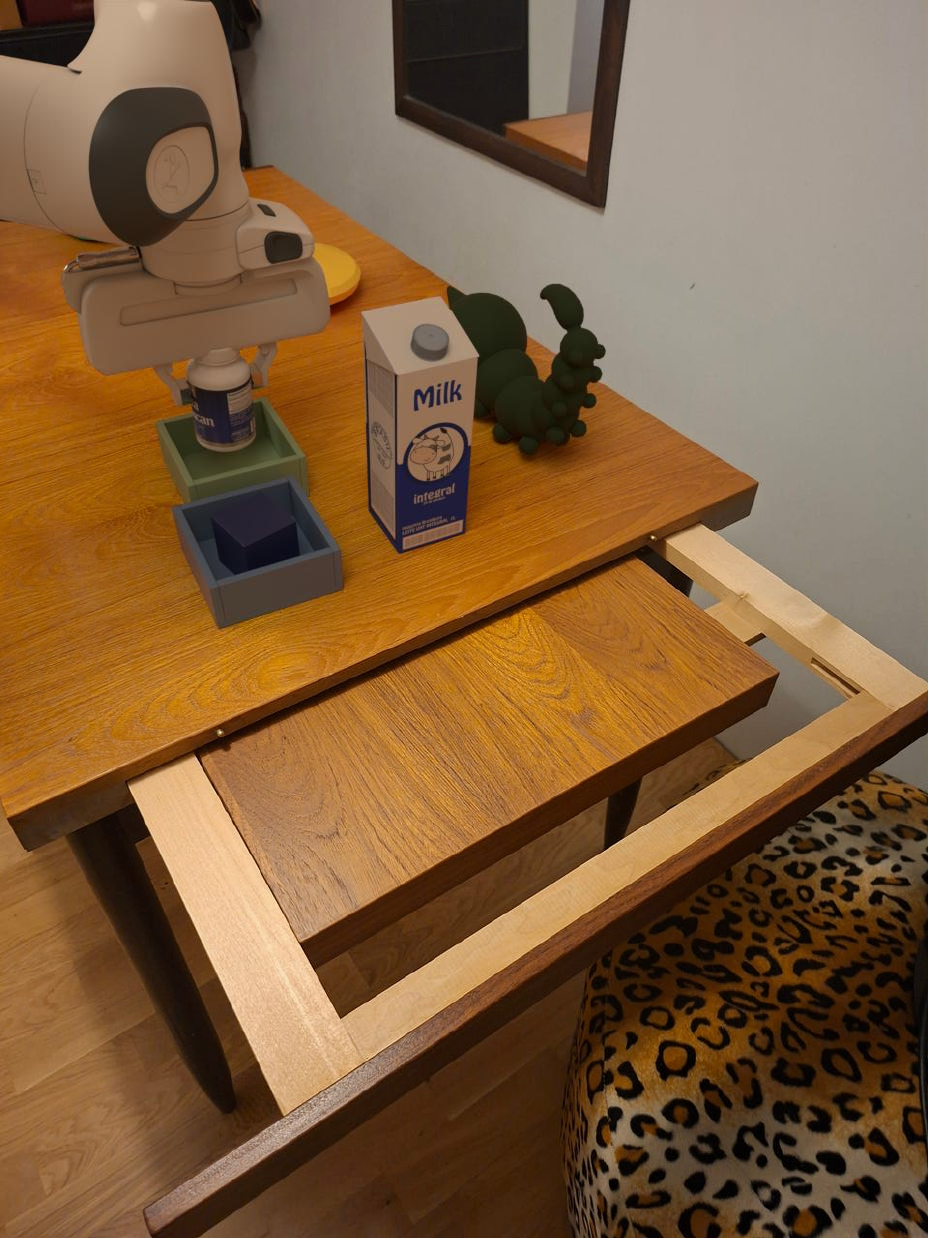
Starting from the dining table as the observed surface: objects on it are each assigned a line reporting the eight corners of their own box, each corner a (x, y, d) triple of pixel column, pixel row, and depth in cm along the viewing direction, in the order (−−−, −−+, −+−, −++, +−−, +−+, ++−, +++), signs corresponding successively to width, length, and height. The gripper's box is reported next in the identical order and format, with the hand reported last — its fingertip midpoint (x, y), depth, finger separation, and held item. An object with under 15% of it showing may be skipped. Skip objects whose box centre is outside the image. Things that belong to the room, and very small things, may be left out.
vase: (371, 273, 115) (370, 219, 110) (348, 331, 104) (346, 274, 99) (254, 261, 116) (247, 207, 110) (219, 318, 105) (210, 260, 100)
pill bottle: (183, 438, 79) (166, 338, 72) (226, 414, 82) (214, 317, 76) (226, 461, 77) (212, 360, 70) (268, 435, 81) (260, 337, 74)
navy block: (251, 591, 72) (244, 547, 69) (219, 560, 75) (210, 515, 71) (301, 565, 75) (296, 520, 71) (267, 536, 77) (261, 491, 74)
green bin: (196, 527, 78) (187, 486, 75) (164, 461, 85) (154, 420, 81) (309, 496, 82) (306, 456, 79) (270, 435, 89) (265, 395, 85)
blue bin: (218, 629, 70) (209, 588, 67) (180, 547, 76) (170, 506, 73) (343, 589, 74) (341, 549, 71) (297, 514, 80) (293, 474, 77)
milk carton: (433, 491, 84) (441, 292, 69) (467, 532, 80) (481, 331, 65) (366, 510, 81) (359, 308, 67) (397, 554, 77) (396, 350, 63)
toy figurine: (596, 475, 90) (476, 344, 103) (644, 311, 75) (497, 181, 88) (520, 500, 86) (405, 361, 99) (554, 333, 72) (415, 194, 84)
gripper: (62, 275, 61) (109, 439, 71) (333, 232, 69) (341, 387, 79) (45, 239, 65) (92, 400, 75) (304, 203, 72) (315, 354, 82)
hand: (221, 393), depth 77 cm, fingers closed on pill bottle, 5 cm apart
